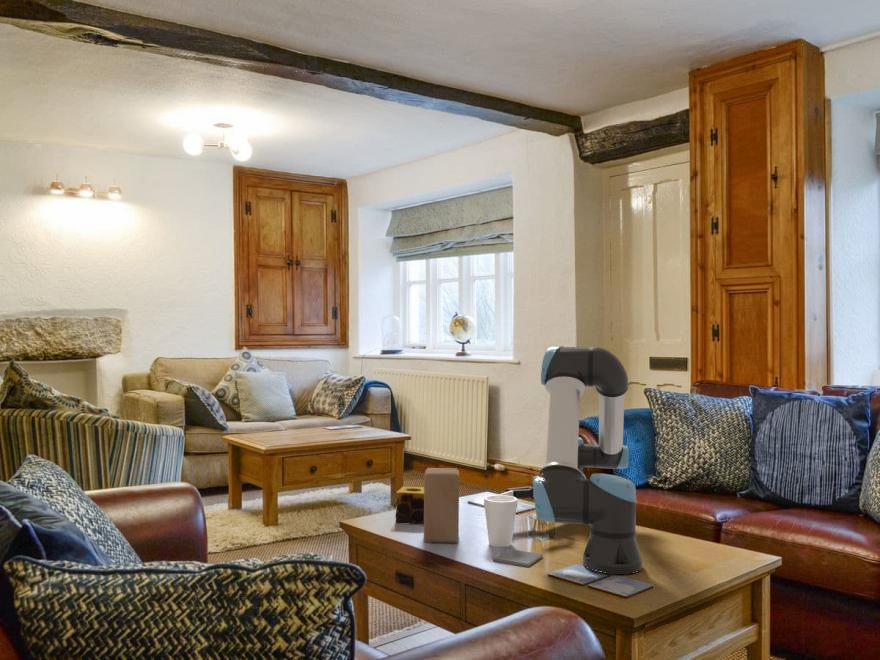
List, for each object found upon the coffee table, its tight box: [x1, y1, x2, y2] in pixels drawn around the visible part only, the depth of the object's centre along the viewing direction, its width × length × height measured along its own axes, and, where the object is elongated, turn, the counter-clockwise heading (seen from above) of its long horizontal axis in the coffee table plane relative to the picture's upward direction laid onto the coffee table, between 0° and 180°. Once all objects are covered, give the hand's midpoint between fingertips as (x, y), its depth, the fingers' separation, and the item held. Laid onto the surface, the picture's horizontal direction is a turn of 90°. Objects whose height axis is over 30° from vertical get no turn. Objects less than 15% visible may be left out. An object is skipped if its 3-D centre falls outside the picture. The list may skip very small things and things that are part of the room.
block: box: [423, 467, 460, 544], centre depth 226 cm, size 10×10×20 cm
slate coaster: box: [493, 548, 544, 568], centre depth 207 cm, size 10×10×1 cm
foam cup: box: [483, 494, 518, 548], centre depth 221 cm, size 10×9×13 cm
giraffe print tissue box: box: [395, 486, 424, 525], centre depth 247 cm, size 10×10×10 cm
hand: (519, 502), depth 229 cm, fingers open, 13 cm apart
